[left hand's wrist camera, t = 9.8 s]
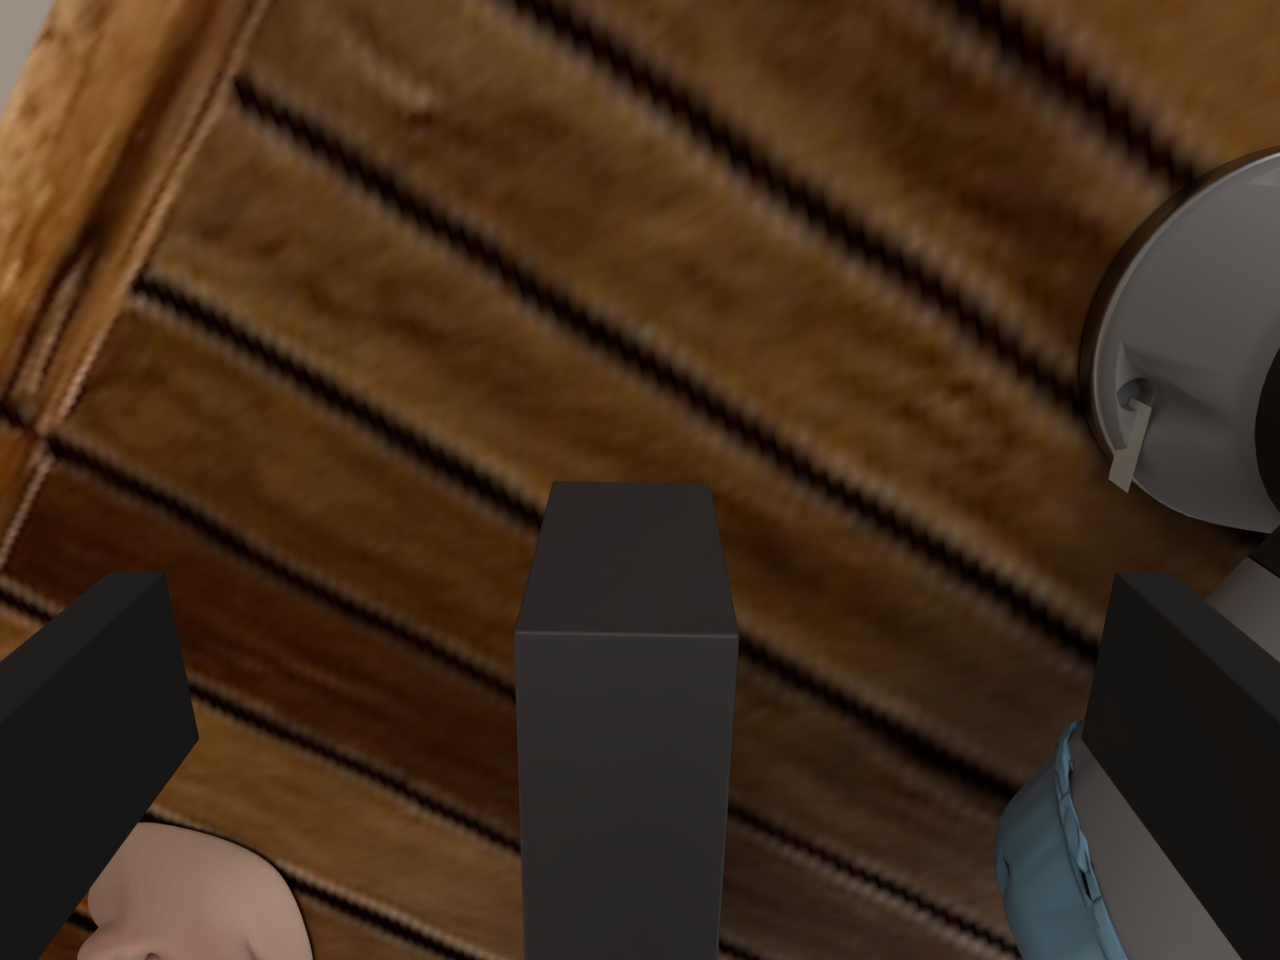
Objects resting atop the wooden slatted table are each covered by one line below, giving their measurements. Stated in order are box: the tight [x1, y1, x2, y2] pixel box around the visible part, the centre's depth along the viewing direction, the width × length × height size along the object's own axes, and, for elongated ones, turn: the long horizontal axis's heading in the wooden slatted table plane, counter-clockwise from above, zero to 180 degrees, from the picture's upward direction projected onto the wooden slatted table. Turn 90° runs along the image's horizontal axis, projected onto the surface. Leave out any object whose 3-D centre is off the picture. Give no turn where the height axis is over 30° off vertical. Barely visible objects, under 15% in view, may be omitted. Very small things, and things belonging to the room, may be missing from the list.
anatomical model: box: [77, 822, 313, 960], centre depth 46 cm, size 13×4×12 cm
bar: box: [514, 481, 739, 960], centre depth 27 cm, size 24×5×9 cm, turn 179°
